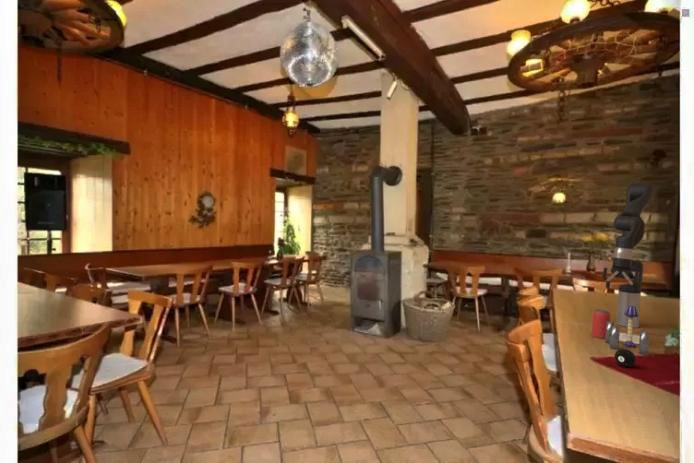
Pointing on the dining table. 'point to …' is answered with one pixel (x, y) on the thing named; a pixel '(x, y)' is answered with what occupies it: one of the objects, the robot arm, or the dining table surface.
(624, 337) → the ceramic tile
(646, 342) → the spacer posts
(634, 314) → the toy lamp
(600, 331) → the beer can
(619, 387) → the dining table surface
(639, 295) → the robot arm
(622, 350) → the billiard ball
